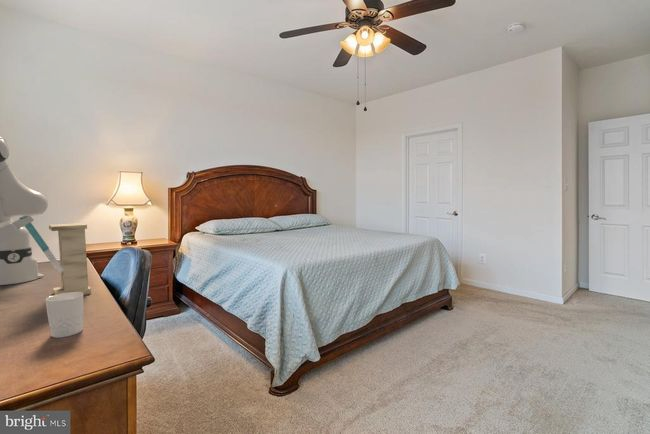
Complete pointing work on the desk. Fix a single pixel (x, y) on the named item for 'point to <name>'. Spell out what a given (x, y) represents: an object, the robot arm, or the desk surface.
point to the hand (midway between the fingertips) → (31, 217)
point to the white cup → (65, 314)
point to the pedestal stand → (72, 258)
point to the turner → (43, 245)
